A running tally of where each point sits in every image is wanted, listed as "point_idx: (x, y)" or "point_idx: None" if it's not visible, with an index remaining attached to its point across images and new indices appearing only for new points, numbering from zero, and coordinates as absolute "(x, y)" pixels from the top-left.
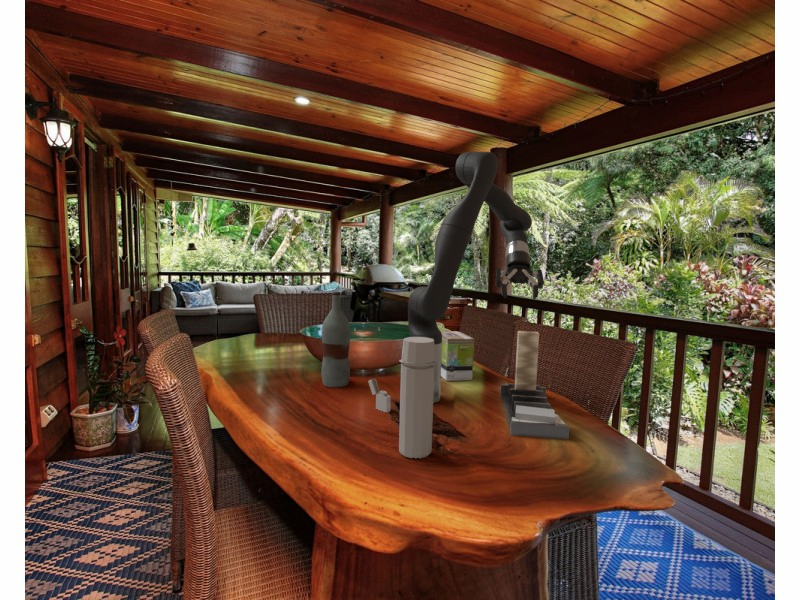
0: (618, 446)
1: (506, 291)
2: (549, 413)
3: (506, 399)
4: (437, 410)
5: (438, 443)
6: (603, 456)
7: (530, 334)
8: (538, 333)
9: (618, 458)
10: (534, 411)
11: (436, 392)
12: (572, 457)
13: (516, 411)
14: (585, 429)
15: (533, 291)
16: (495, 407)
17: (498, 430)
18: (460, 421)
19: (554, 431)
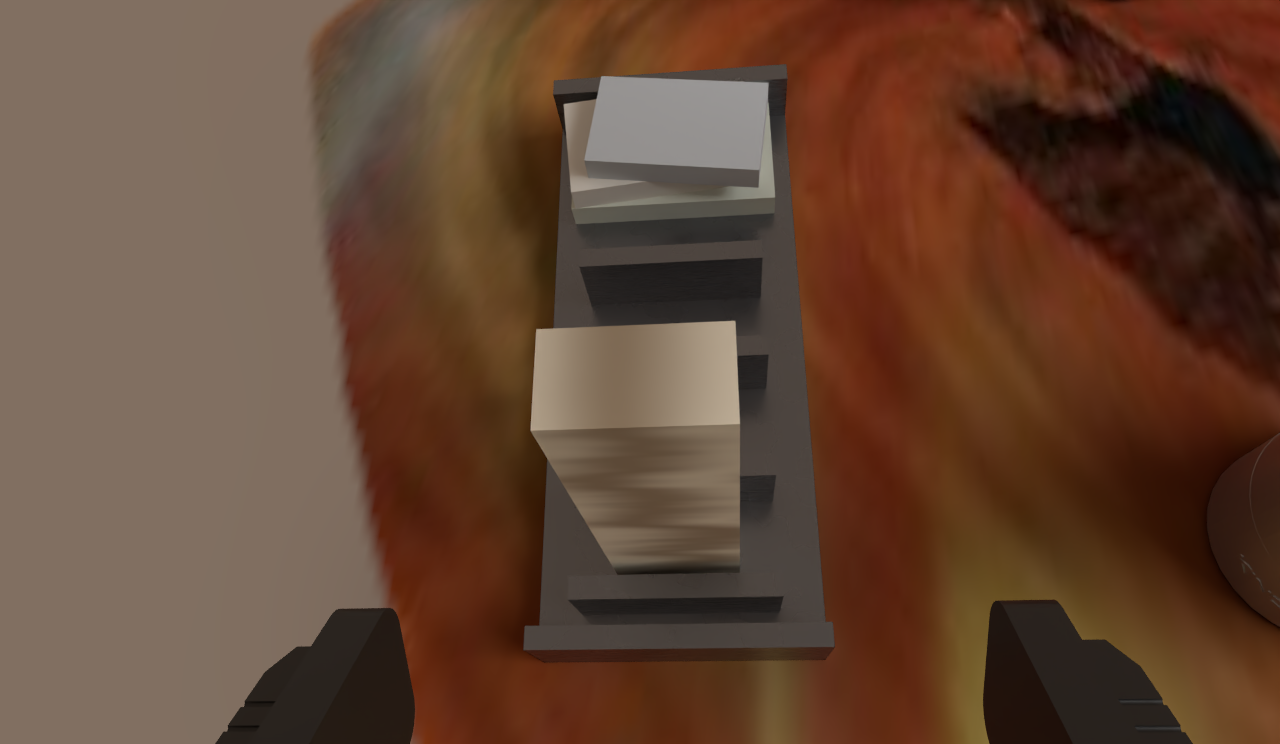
0: (380, 170)
1: (1030, 637)
2: (616, 111)
3: (788, 546)
4: (1165, 367)
5: (1054, 42)
6: (469, 86)
7: (621, 331)
8: (541, 337)
9: (424, 84)
10: (680, 117)
11: (1247, 463)
12: (577, 56)
13: (762, 98)
14: (445, 297)
15: (349, 722)
16: (849, 489)
17: (829, 201)
18: (1011, 255)
19: None
